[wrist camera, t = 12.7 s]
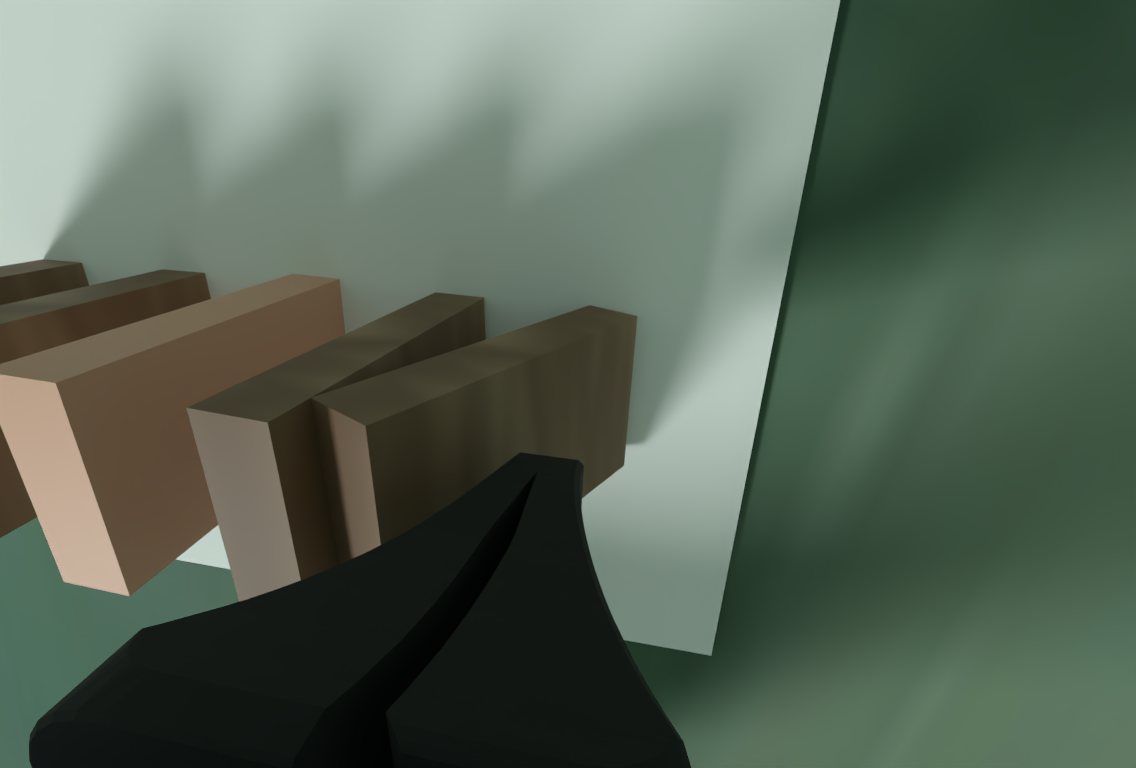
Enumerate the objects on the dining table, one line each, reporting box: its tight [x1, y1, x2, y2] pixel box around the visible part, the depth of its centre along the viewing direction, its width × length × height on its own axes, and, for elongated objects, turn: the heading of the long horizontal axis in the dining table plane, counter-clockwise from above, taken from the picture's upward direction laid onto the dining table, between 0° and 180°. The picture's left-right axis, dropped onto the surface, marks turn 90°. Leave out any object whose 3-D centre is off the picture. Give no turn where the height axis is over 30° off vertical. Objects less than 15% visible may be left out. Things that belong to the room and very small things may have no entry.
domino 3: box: [187, 292, 485, 602], centre depth 13 cm, size 2×5×8 cm, turn 178°
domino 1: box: [0, 269, 211, 538], centre depth 15 cm, size 2×5×8 cm, turn 178°
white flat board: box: [0, 0, 840, 656], centre depth 18 cm, size 28×21×1 cm
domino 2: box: [0, 274, 345, 596], centre depth 14 cm, size 2×5×8 cm, turn 176°
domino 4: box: [311, 305, 637, 564], centre depth 13 cm, size 2×5×8 cm, turn 178°
